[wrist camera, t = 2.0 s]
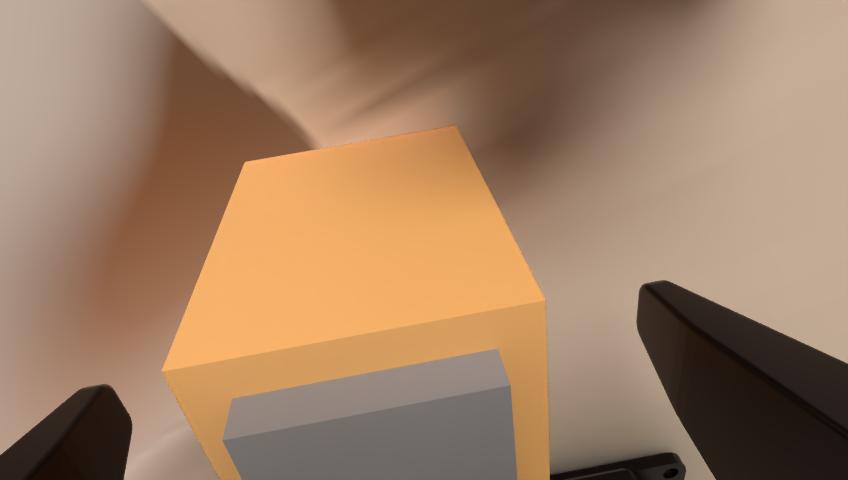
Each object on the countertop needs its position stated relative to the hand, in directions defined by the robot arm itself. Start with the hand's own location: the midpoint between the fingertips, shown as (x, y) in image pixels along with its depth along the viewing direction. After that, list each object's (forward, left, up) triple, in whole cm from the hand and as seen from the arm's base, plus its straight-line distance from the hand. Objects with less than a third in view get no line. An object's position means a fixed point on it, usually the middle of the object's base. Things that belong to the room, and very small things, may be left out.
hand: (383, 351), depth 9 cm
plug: (0, 0, -4) cm, 4 cm away
